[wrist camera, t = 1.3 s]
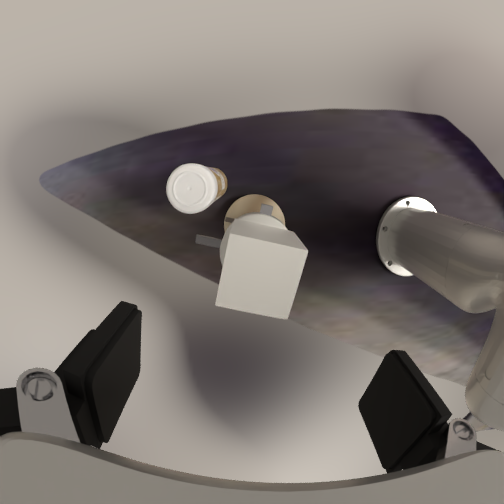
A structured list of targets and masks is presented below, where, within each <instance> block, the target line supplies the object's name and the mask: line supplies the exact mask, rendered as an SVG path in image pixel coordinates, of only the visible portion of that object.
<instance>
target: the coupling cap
mask: <svg viewBox="0 0 504 504" xmlns="http://www.w3.org/2000/svg"><path fill="white" fill-rule="evenodd" d="M272 210H273V206H271V205H267V204H263V203H262V204H261V208H260V212H250V213H246V214H244V215H241V216H240V217H238V218H235V219H234V221H233V222H232V223H231V224H230V225H229V226H228V228H227V230H226V232H225V234H224V236H223V239H218V238H214V237H209V236H204V235H200V234H197V235H196V240H195V243H197V244H202V245H206V246H211V247H215V248H220V260H221V263H222V266H223V268H222V273H221V278H220V283H219V288H218V293H217V299H216V303H215V306H220V307H225V308H229V309H234V310H239V311H244V312H249V313H254V314H259V315H264V316H270V317H275V318H281V319H286V320H287V319H288V316H289V313H290V310H291V307H292V304H293V300H294V297H295V294H296V291H297V288H298V284H299V281H300V278H301V274H302V271H303V268H304V264H305V261H306V257H307V254H308V250H307V248H306V247H305V246H304V244H303V243H302V242H301V240H300V239H299V238H298V237H297V235H296V234H295V233H294V232H293V231H289V230H287V228H286V227H285V225H284V224H283V223H282V222H281V221H280V220H279V219H278V218H276V217H274V216H273V215H272Z"/></svg>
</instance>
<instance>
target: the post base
mask: <svg viewBox="0 0 504 504" xmlns="http://www.w3.org/2000/svg"><path fill="white" fill-rule="evenodd" d="M262 203H263V204H267V205H271V206H273V210H272V215H273V216H274V217H276V218H278V219H279V220H280V221H281V222H282V223H283V224H284V225H285V219H284V215H283V213H282V211H281V209H280V208H279V206H278V205H277V204H276V203H275V202H274V201H273V200H271V199H270V198H268V197H266V196H263V195H258V194H251V195H246V196H243V197H241V198H239V199H238V200H236V201H235V202H234V203H233V204H232V205H231V206H230V208H229V210H228V211H227V213H226V216H225V220H224V230H225V232H226V230H227V228H228V226H229V225H230V224H231V223H232V222H233V221H234V219H235V218H238V217H240V216H241V215H244V214H246V213H250V212H260V208H261V204H262Z"/></svg>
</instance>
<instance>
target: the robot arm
mask: <svg viewBox="0 0 504 504" xmlns="http://www.w3.org/2000/svg"><path fill="white" fill-rule="evenodd" d="M405 202H406V203H405ZM383 227H384V228H383ZM376 246H377V252H378V255H379V258H380V260H381V261H382V263H383V264H384V266H385V267H386V268H387V269H389V270H390V271H391V272H393V273H395V274H397V275H400V276H411V275H415V276H416V277H417V278H419V279H420V280H422V281H423V282H425V283H426V284H427V285H429V286H430V287H432V288H433V289H434V290H436V291H437V292H439V293H440V294H441V295H443V296H444V297H445V298H447V299H448V300H449V301H451V302H452V303H453V304H455V305H456V306H458V307H459V308H461V309H462V310H464V311H467V312H470V313H481V312H486V311H489V310H492V309H494V308H496V313H495V317H494V320H493V323H492V325H491V329H490V332H489V334H488V337H487V339H486V342H485V344H484V346H483V349H482V351H481V353H480V355H479V357H478V359H477V362H476V364H475V366H474V368H473V370H472V372H471V374H470V377H469V379H468V382H467V385H466V390H465V399H466V404H467V406H468V409H469V410H470V412H471V413H472V414H473V416H474V417H475V418H476V419H478V420H479V421H480V422H482V423H483V424H485V425H487V426H489V427H492V428H494V429H497V430H501V431H504V233H503V232H500V231H496V230H493V229H490V228H487V227H484V226H480V225H477V224H474V223H471V222H468V221H464V220H461V219H458V218H454V217H451V216H447V215H444V214H440V213H437V211H436V210H435V208H434V207H433V206H432V205H431V204H430V203H429V202H428V201H426V200H424V199H422V198H419V197H414V196H409V197H403V198H401V199H398V200H397V201H395V202H393V203H392V204H391V205H390V206H389V207H388V208H387V210H386V211H385V212H384V214H383V216H382V218H381V220H380V222H379V225H378V228H377V234H376ZM388 261H389V262H388ZM141 317H142V312H141V311H140V310H138V309H137V306H136V305H134V304H130V303H127V302H124V301H121V302H120V303H119V304H118V305H117V306H116V307H115V308H114V309H113V310H112V312H111V313H110V314H109V315H108V316H107V317H106V318H105V320H104V321H103V322H102V323H101V324H100V325H99V326H98V327H97V329H96V330H94V329H93V330H90V331H89V332H88V333H87V335H86V336H85V337H84V338H83V339H82V340H81V341H80V342H79V344H78V345H77V346H76V347H75V348H74V349H73V351H72V352H71V353H70V354H69V355H68V356H67V358H66V359H65V360H64V361H63V362H62V364H61V365H60V366H59V367H58V368H57V370H56V371H55V372H52V371H50V370H48V369H44V368H33V369H29V370H27V371H25V372H24V373H22V374H21V375H20V377H19V378H18V380H17V386H16V387H14V388H4V389H0V504H504V453H503V452H501V451H499V450H496V449H493V448H491V447H489V446H486V445H484V444H482V443H479V442H477V441H476V431H475V429H474V427H473V426H472V425H471V424H470V423H469V422H468V421H466V420H464V419H461V418H455V419H453V420H452V421H451V422H450V423H449V424H448V423H447V420H448V419H449V418H450V417H451V415H452V413H451V412H450V411H449V409H448V408H447V406H446V405H445V404H444V402H443V401H442V399H441V398H440V397H439V395H438V394H437V392H436V391H435V390H434V388H433V387H432V386H431V384H430V383H429V382H428V380H427V379H426V378H425V376H424V375H423V374H422V372H421V371H420V370H419V368H418V367H417V366H416V364H415V363H414V362H413V361H412V359H411V358H410V357H409V355H408V354H407V353H406V352H405V351H401V350H391V351H390V352H389V353H388V354H386V355H385V357H384V359H383V361H382V363H381V365H380V367H379V368H378V370H377V372H376V374H375V375H374V377H373V379H372V381H371V382H370V384H369V386H368V388H367V389H366V391H365V393H364V394H363V396H362V398H361V399H360V401H359V405H358V406H359V410H360V413H361V415H362V417H363V420H364V422H365V425H366V427H367V429H368V432H369V434H370V437H371V439H372V442H373V444H374V447H375V449H376V452H377V454H378V457H379V459H380V462H381V464H382V467H383V468H384V469H386V472H387V474H382V475H377V476H371V477H365V478H358V479H351V480H341V481H330V482H315V483H262V482H246V481H235V480H227V479H219V478H212V477H205V476H199V475H193V474H189V473H184V472H179V471H174V470H170V469H165V468H161V467H157V466H153V465H149V464H145V463H142V462H139V461H135V460H132V459H129V458H126V457H123V456H120V455H116V454H113V453H110V452H107V451H104V450H101V449H100V447H101V445H102V443H103V442H105V443H108V441H109V439H110V437H111V435H112V433H113V430H114V428H115V426H116V424H117V421H118V419H119V417H120V415H121V413H122V411H123V408H124V406H125V404H126V402H127V400H128V398H129V396H130V393H131V391H132V389H133V387H134V385H135V383H136V381H137V379H138V377H139V373H140V351H141V349H140V348H141ZM90 445H91V446H90ZM92 446H93V447H92ZM95 447H96V448H95ZM402 469H403V470H402Z"/></svg>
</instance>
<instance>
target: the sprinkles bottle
mask: <svg viewBox="0 0 504 504" xmlns="http://www.w3.org/2000/svg"><path fill="white" fill-rule="evenodd" d="M226 189H227V178H226V176H225V175H224V173H223V172H222V171H221V170H219V169H217V168H210V167H205V166H203V165H200V164H194V163H189V164H184V165H181V166H179V167H178V168H176V169H175V170H174V171H173V172H172V173H171V175H170V176H169V178H168V181H167V185H166V193H167V197H168V199H169V201H170V203H171V204H172V206H173V207H174V208H175V209H177V210H178V211H180V212H183V213H187V214H194V213H198V212H201V211H203V210H205V209H206V208H208V207H209V206H210V205H211V204H212V203H213V202H214V201H216V200H217V199H219V198H220V197H221V196H223V194H224V193H225V192H226Z"/></svg>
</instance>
